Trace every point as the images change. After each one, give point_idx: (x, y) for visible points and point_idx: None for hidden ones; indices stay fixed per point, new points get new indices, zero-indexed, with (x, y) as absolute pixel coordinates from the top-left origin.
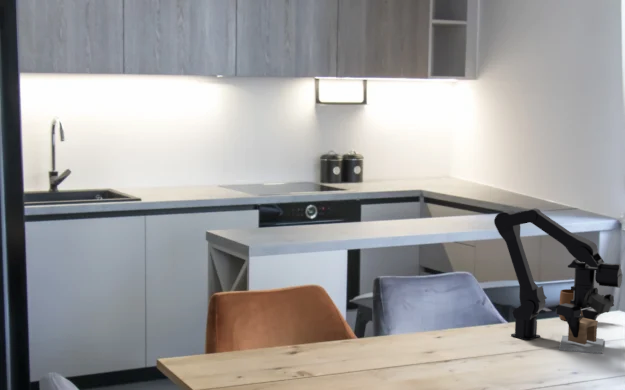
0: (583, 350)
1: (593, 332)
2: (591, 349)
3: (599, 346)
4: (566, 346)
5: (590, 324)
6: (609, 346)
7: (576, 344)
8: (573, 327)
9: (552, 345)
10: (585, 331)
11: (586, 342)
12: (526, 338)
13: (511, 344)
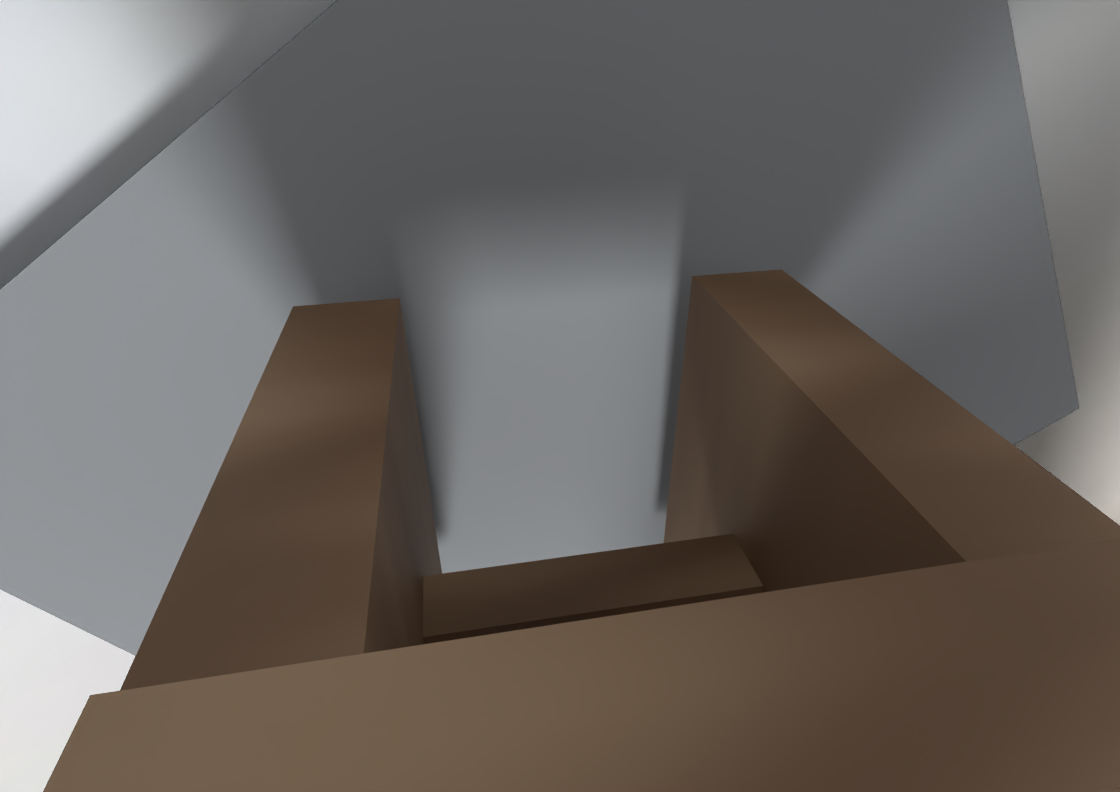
0: (992, 86)
1: (387, 461)
2: (808, 19)
3: (400, 86)
4: None
5: (850, 697)
6: (6, 3)
7: (668, 443)
8: None
9: None
10: (967, 446)
11: (704, 290)
12: None
13: None
